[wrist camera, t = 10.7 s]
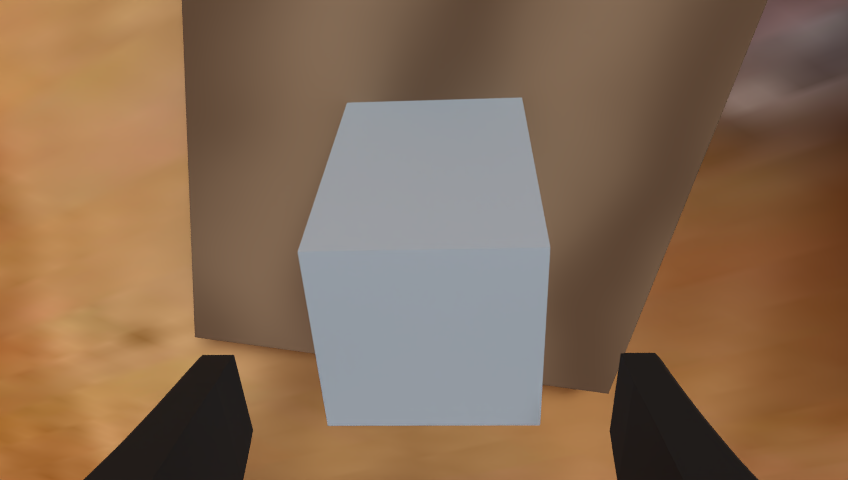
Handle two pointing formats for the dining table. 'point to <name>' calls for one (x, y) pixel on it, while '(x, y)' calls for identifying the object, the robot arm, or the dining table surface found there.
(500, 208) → the blue-grey block
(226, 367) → the robot arm
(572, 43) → the walnut board
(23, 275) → the dining table surface
